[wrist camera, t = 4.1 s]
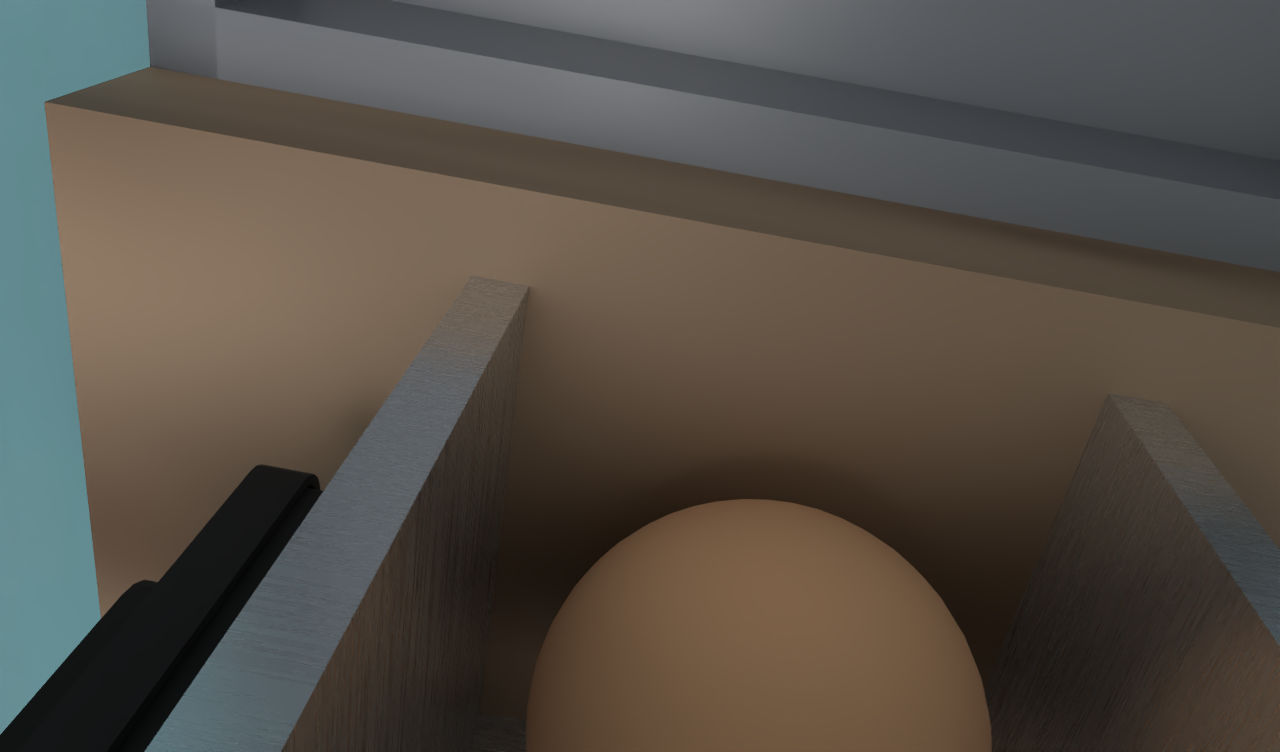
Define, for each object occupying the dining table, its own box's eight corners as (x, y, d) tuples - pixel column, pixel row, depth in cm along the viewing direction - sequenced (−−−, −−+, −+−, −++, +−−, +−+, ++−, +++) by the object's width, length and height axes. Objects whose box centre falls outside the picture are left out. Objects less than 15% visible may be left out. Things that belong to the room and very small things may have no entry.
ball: (593, 385, 11) (502, 674, 7) (999, 460, 11) (1139, 797, 7) (545, 689, 13) (456, 1046, 9) (889, 754, 13) (950, 1145, 9)
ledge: (260, 29, 15) (44, 102, 10) (1377, 232, 14) (1659, 396, 10) (267, 493, 18) (109, 695, 14) (1157, 661, 18) (1291, 924, 13)
